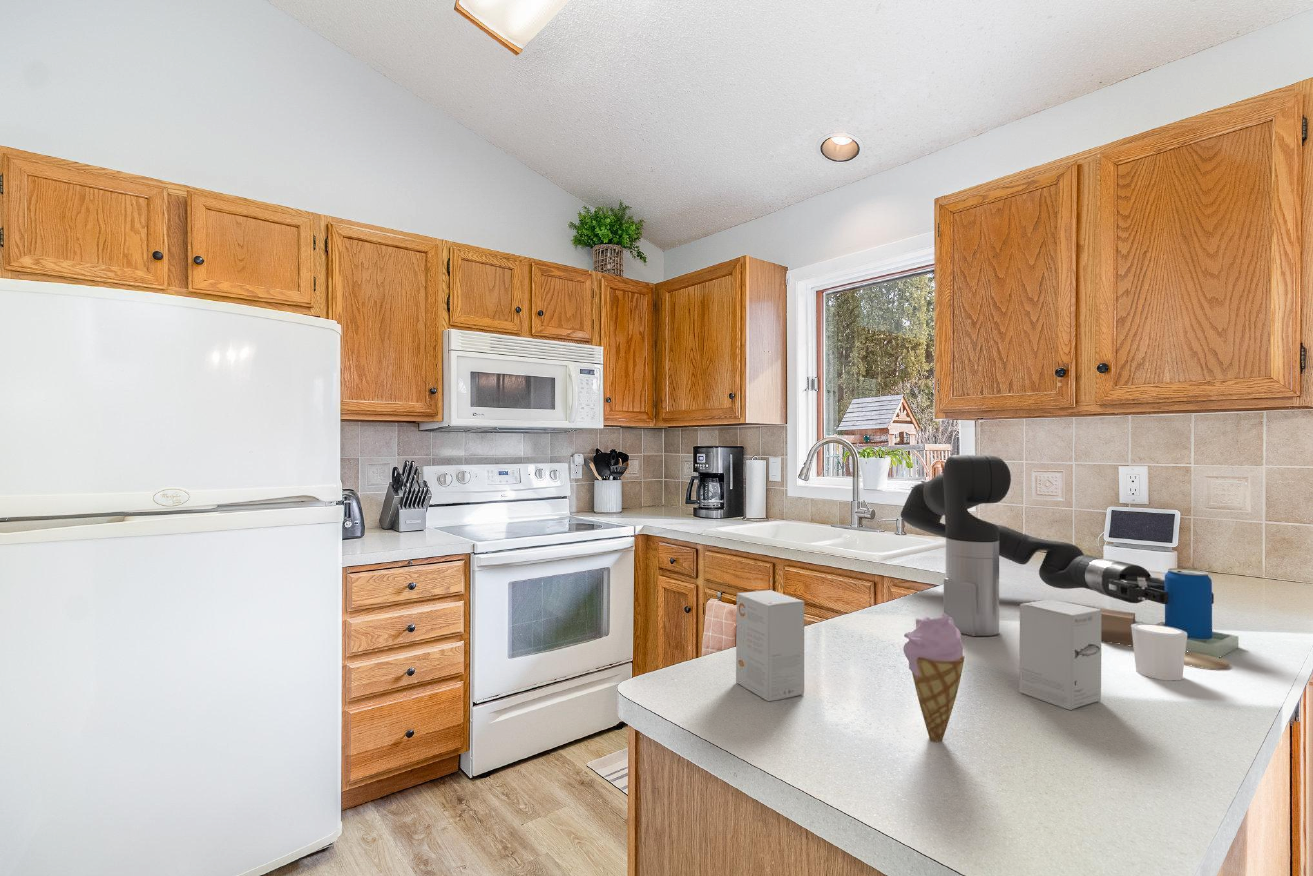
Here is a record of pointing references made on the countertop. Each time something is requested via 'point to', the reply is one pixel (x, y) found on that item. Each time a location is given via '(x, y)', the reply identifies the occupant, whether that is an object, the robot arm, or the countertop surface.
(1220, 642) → the tray
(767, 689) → the small box
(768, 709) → the countertop surface
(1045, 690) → the supplement box
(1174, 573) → the beverage can
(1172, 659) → the white cup
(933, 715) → the ice cream cone
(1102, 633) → the walnut block
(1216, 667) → the cork coaster
